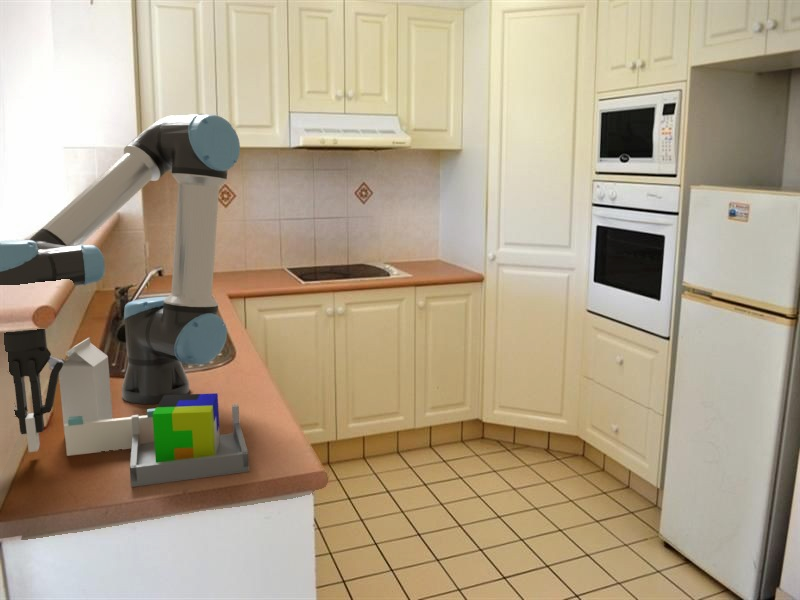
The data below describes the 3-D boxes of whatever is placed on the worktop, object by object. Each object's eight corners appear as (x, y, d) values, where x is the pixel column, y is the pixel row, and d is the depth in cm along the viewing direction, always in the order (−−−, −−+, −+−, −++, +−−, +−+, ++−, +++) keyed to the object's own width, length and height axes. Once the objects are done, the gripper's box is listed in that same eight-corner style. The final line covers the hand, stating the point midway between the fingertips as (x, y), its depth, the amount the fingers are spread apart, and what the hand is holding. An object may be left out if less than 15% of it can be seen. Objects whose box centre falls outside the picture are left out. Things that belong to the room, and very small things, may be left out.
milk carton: (113, 424, 150) (106, 337, 146) (99, 438, 143) (92, 347, 139) (80, 424, 150) (72, 337, 146) (64, 437, 143) (55, 346, 139)
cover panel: (67, 453, 135) (64, 417, 134) (166, 441, 141) (164, 407, 139) (66, 456, 134) (63, 420, 133) (166, 444, 140) (164, 409, 138)
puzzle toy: (219, 441, 139) (217, 393, 136) (212, 463, 129) (210, 411, 127) (167, 444, 137) (164, 395, 135) (156, 466, 128) (152, 414, 126)
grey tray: (134, 449, 137) (131, 415, 136) (239, 437, 143) (238, 404, 142) (131, 487, 122) (128, 449, 120) (249, 471, 128) (247, 435, 127)
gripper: (-25, 334, 122) (-10, 461, 127) (58, 328, 126) (70, 452, 131) (-15, 324, 129) (-1, 445, 134) (63, 319, 133) (74, 437, 138)
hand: (34, 448), depth 133 cm, fingers closed
